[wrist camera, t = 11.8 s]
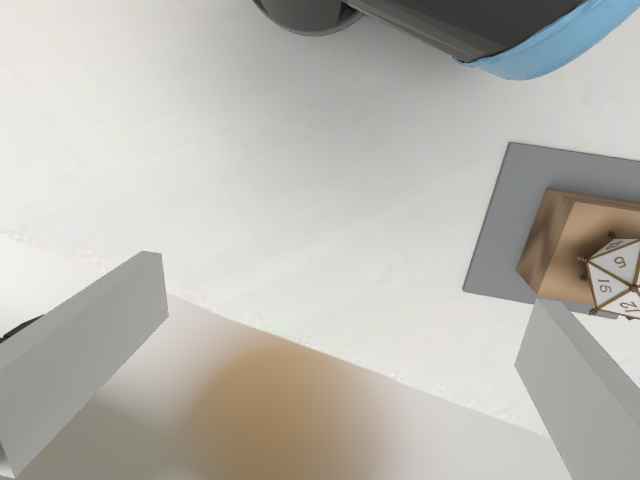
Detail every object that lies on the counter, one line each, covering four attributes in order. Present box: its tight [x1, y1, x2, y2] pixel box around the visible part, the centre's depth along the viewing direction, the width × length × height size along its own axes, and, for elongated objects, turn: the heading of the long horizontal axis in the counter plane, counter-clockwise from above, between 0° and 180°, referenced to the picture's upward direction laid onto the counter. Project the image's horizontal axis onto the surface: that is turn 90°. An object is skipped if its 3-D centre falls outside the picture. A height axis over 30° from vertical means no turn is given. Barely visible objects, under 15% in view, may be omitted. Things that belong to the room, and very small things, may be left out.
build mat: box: [462, 142, 640, 319], centre depth 41 cm, size 18×18×1 cm
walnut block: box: [516, 188, 640, 305], centre depth 38 cm, size 10×10×6 cm
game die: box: [576, 231, 640, 320], centre depth 31 cm, size 9×8×10 cm
